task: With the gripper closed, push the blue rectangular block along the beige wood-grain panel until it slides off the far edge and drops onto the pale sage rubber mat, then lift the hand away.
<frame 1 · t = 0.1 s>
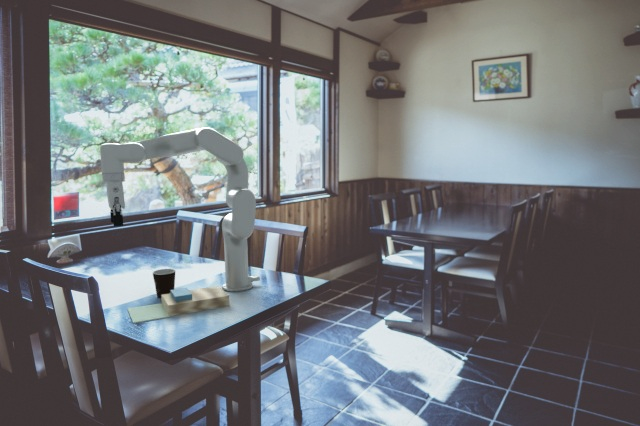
hand: (117, 224, 179), 31 cm above the table, tool pointing down, fingers open, 9 cm apart
blue rectangular block: (181, 297, 180), point 4 cm above the table, touching beige wood-grain panel
mat: (148, 313, 175), on the table
coffee mug: (166, 295, 196), on the table
beige wood-grain panel: (195, 305, 183), on the table
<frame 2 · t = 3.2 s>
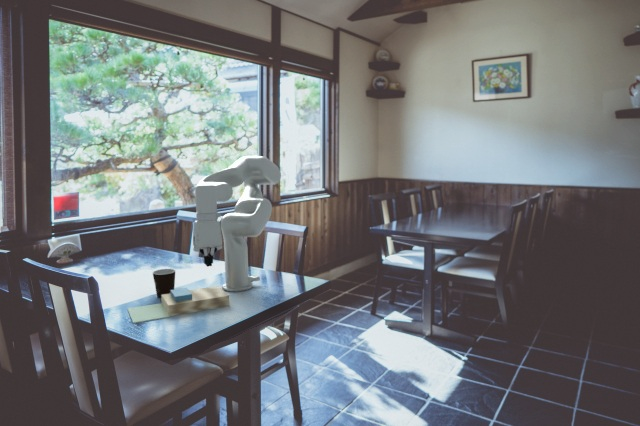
hand: (208, 265, 183), 15 cm above the table, tool pointing down, fingers closed
nothing on the table moved.
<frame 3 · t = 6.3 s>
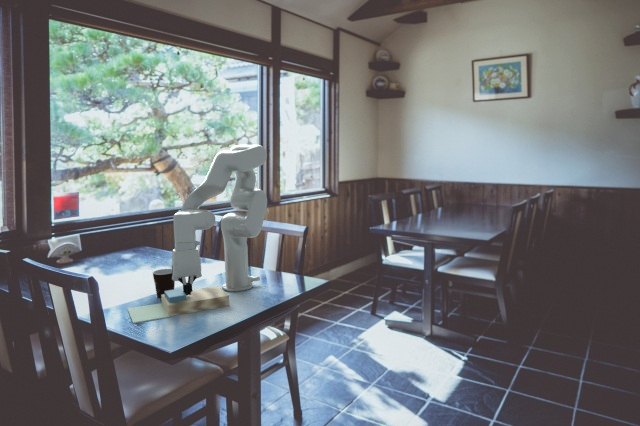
hand: (187, 294, 181), 5 cm above the table, tool pointing down, fingers closed
blue rectangular block: (175, 298, 179), point 4 cm above the table, touching gripper
everything else where it was.
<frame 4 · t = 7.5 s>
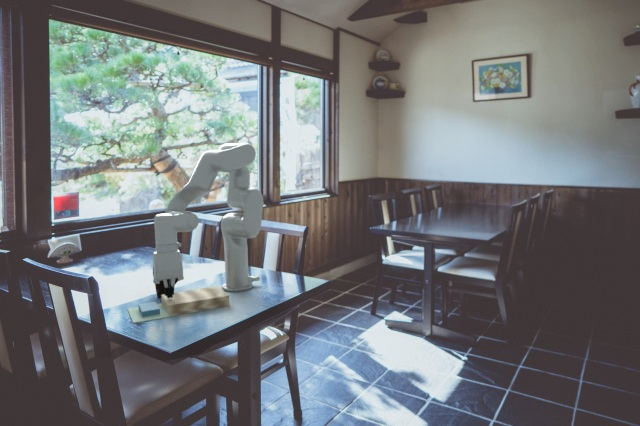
hand: (169, 296, 178), 5 cm above the table, tool pointing down, fingers closed
blue rectangular block: (148, 306, 175), point 2 cm above the table, tilted 180°, touching mat
everything else where it was.
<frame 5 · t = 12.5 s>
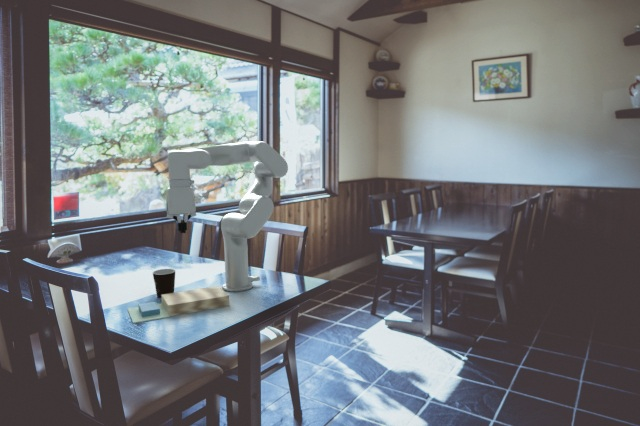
hand: (182, 232, 183), 27 cm above the table, tool pointing down, fingers closed
nothing on the table moved.
at the end: blue rectangular block point 2.4 cm above the table; blue rectangular block inside the target area (1.0 cm from its centre), point 2.4 cm above the table; blue rectangular block touching mat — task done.
